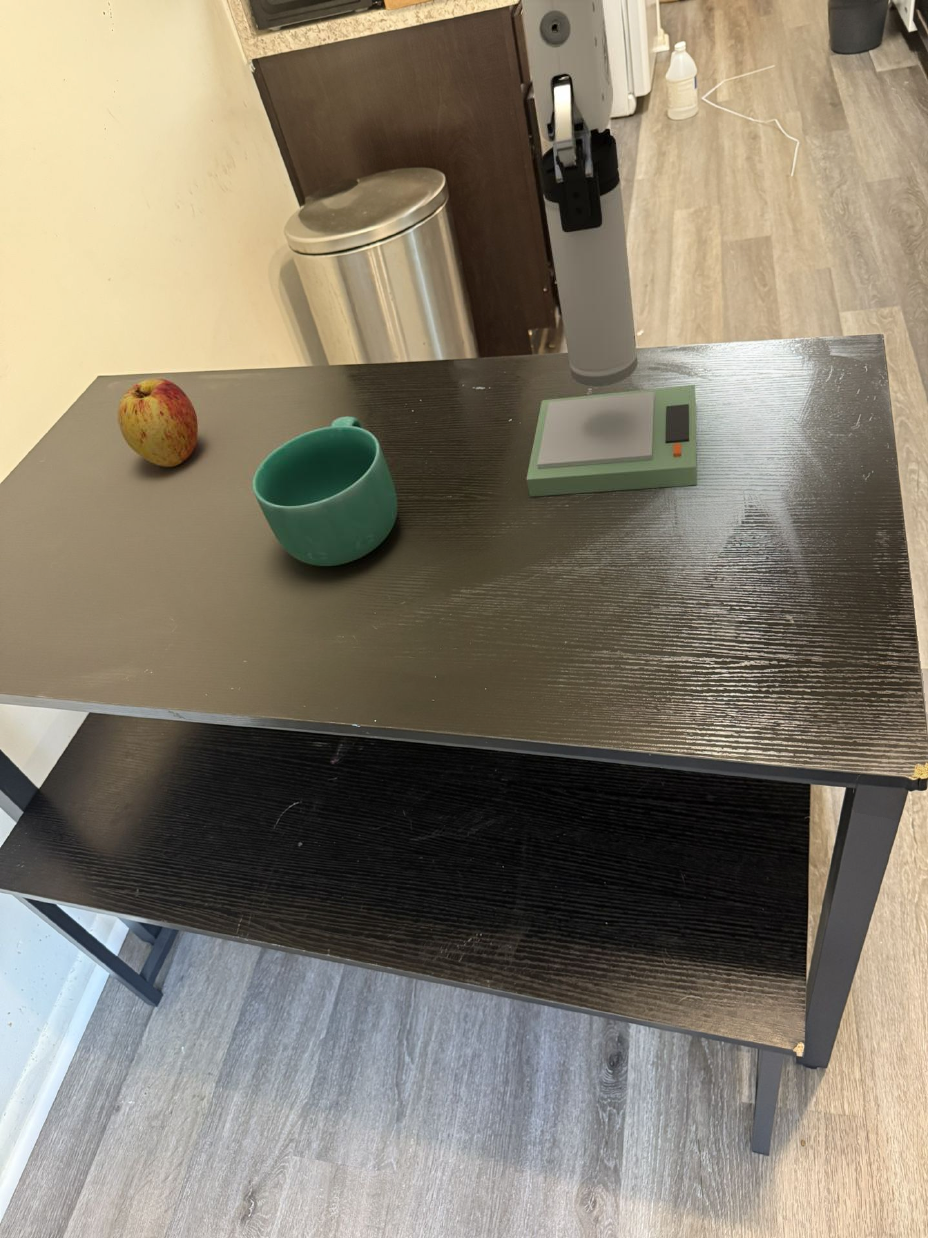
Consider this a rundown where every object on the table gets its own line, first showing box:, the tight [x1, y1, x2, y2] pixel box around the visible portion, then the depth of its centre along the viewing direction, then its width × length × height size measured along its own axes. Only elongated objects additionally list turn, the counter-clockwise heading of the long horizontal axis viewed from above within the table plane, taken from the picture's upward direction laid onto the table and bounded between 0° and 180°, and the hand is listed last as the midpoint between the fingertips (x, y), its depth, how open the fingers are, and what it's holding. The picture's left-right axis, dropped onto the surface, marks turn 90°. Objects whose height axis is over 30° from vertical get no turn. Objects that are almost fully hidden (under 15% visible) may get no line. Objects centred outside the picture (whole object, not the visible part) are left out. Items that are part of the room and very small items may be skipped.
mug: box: [252, 416, 399, 567], centre depth 85 cm, size 17×13×10 cm
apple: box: [117, 378, 199, 468], centre depth 104 cm, size 9×9×10 cm
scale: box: [525, 384, 698, 498], centre depth 87 cm, size 16×14×3 cm
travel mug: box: [539, 127, 639, 387], centre depth 75 cm, size 6×7×20 cm
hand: (585, 208), depth 72 cm, fingers closed on travel mug, 6 cm apart
